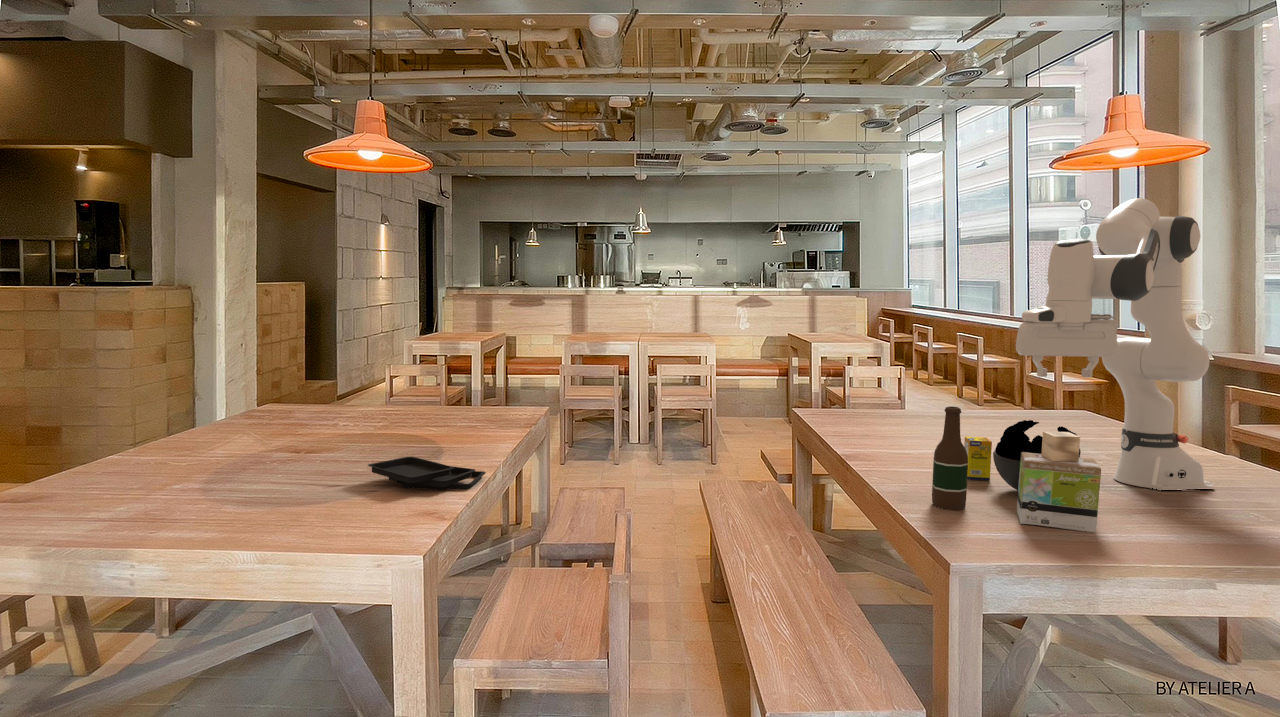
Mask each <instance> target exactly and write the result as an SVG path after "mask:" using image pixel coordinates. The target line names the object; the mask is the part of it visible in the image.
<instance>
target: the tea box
mask: <svg viewBox="0 0 1280 717" xmlns="http://www.w3.org/2000/svg"><path fill="white" fill-rule="evenodd" d="M1101 474H1102V468H1101V466H1100V465H1099V464H1098V463H1097V461H1096V460H1095V459H1094V458H1091V457H1090V458H1089V457H1081V456H1080V457H1079V462H1069V461H1051V460H1049V459H1047V458H1045V457H1044V456H1042V454H1036V453H1026V452H1021V461H1020V473H1019V486H1018V490H1017V502H1016V514H1017V516H1018V519H1019V523H1020V525H1031V526H1040V527H1041V526H1042V527H1048V528H1049V527H1050V528H1056V529H1064V530H1071V531H1079V532H1084V533H1091V532H1094V533H1096V531H1097V524H1098V514H1099V513H1098V512H1099V503H1100V502H1099V498H1100V487H1101V480H1102V479H1101V476H1102V475H1101ZM1085 531H1086V532H1085Z"/></svg>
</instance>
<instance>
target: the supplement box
mask: <svg viewBox="0 0 1280 717" xmlns="http://www.w3.org/2000/svg"><path fill="white" fill-rule="evenodd" d="M963 445H964V447H965V449H966V452H967V455H968V473H967V480H970V479H973V480H974V481H986V480H989V481H991V469H992V468H991V466H992V465H991V463H992V447H993V441H992V440H990V439H989V438H988V437H983V436H982V437H981V436H964V444H963Z"/></svg>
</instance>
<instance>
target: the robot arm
mask: <svg viewBox="0 0 1280 717" xmlns="http://www.w3.org/2000/svg"><path fill="white" fill-rule="evenodd" d="M1095 238H1096V239H1095V240H1096V243H1097V246H1098V250H1099V254H1100V255H1095V254H1094V253H1095V252H1094V246H1093V241H1092V240H1090V239H1086V238H1070V239H1063V240H1059V241H1057V242H1055V243H1054V244H1053V245H1052V248H1051V251H1050V255H1049V260H1048V268H1047V279H1046V280H1047V284H1048V293H1047V295H1046V301H1045V305H1042V306H1039V307H1038V306H1037V307H1036V308H1032V309H1028V310H1025V311H1023V312H1022V313H1021V320H1022V321H1023V322H1022V323H1021V324H1020V325H1019V327H1018V329H1017V335H1016V339H1015V351H1016V352H1017V354H1018V355H1019V356H1023V357H1027V356H1028V357H1032V362H1033V364H1034V365H1035V367H1036V368H1037V369H1036V376H1037V377H1039V378H1040V377H1045V378H1047V376H1048V368H1045V367H1044V366H1043V364H1042V362H1044V357H1083V358H1084V357H1087V361H1088V364H1087V365H1086V368H1081V377H1083V378H1092V377H1093V372H1094V371H1093V370H1094V369H1095V368H1096V366H1097V365H1098V364H1099V360H1100V357H1101V361H1102V365H1103V367H1105V370H1106V371H1108V372H1109V373H1110V374H1111V375H1112V376H1113V377H1114V379H1116V381H1117V383H1118V385H1119V387H1120V389H1121V392H1122V395H1123V398H1124V399H1123V400H1124V424H1123V425H1124V426H1123V428H1121V438H1120V447H1121V450H1120V457H1119V461H1118V464H1117V468H1116V471H1115V473H1114V475H1113V479H1114V480H1115V481H1117V482H1119V483H1123V484H1127V485H1131V486H1136V487H1141V488H1147V489H1152V488H1153V490H1156V489H1157V491H1161V490H1177V489H1198V488H1213V487H1214V485H1213V483H1212V482H1209V481H1208V480H1206V479H1205V478H1204V470H1203V466H1202V464H1201V463H1200V461H1198V460H1197V459H1195V458H1194V457H1193V456H1192V455H1190V454H1189V453H1188V452H1187V451H1185V449H1183V448H1182V447H1180V444H1179V443H1181V444H1184V445H1185V444H1187V443H1188V442H1189V438H1188V436H1186V435H1183V434H1177V433H1176V432H1174V422H1175V420H1174V419H1175V409H1176V408H1175V405H1174V401H1172V400H1171V398H1170V397H1169V396H1167V395H1165V394H1163V392H1161V390H1160V389H1159V387H1158V386H1157V383H1156V381H1161V382H1162V381H1164V382H1169V383H1170V382H1172V383H1186V382H1187V383H1188V382H1194V381H1199V380H1200V379H1201V378H1203V377H1204V376H1205V374H1206V373H1207V372H1208V370H1209V367H1210V355H1209V353H1208V351H1207V349H1206V348H1205V347H1204V346H1203V345H1202V344H1201V343H1199V342H1198V341H1196V339H1194V337H1193V336H1192V335H1191V334H1190V332H1189V330H1188V329H1187V326H1186V324H1185V322H1184V318H1183V313H1182V312H1183V310H1182V290H1183V289H1182V288H1183V287H1182V285H1183V275H1182V274H1183V271H1182V263H1183V262H1184V261H1185V259H1187V258H1190V257H1191V256H1192V255H1193V254H1194V253H1196V251H1197V249H1198V246H1199V244H1200V241H1201V240H1200V239H1201V230H1200V227H1199V223H1198V222H1197V221H1196V220H1195V219H1194V218H1193V217H1189V216H1184V215H1176V216H1161V213H1160V210H1159V208H1158V207H1157V205H1156V204H1155V203H1154V202H1153V201H1151V200H1149V199H1146V198H1141V197H1139V198H1138V197H1137V198H1133V199H1132V198H1131V199H1129V200H1126V201H1124V202H1122V203H1121V204H1119V205H1118V206H1116V207H1115V208H1113V210H1111V211H1110V212H1109V213H1108V214H1107V215H1106V216H1105V217H1104V218H1103V220H1102V221H1101V222H1100V224H1099V225H1098V227H1097V230H1096V233H1095ZM1095 299H1097V300H1098V299H1099V300H1100V299H1101V300H1120V301H1130V314H1131V317H1132V318H1133V319H1134V320H1135V321H1136V322H1137V323H1140V324H1141V325H1143V326H1144V327H1145V328H1146V330H1147V332H1148V334H1149V337H1137V336H1136V337H1134V336H1127V337H1120V338H1118V337H1117V336H1118V334H1117V331H1118V326H1119V324H1118V323H1119V322H1118V320H1117V318H1115V317H1114V316H1112V314H1109V313H1108V314H1107V313H1105V314H1099V313H1093V314H1092V312H1093V310H1092V309H1093V300H1095Z"/></svg>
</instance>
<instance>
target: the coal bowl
mask: <svg viewBox="0 0 1280 717" xmlns="http://www.w3.org/2000/svg"><path fill="white" fill-rule="evenodd" d="M1038 424H1040V422H1039V421H1034V420H1031V419H1028V420H1026V419H1023V420H1021V421H1017V422H1016V423H1014V424H1013V425H1010V426H1008V427H1006V429H1004V431H1003V433H1002V436H1001V437H1000V441H999V442H997V444H996V446H995V449H994V450H993V452H992V458H993V462H994V466H995V469H996V471H997V473H998V474H999V476H1000V477H1001V478H1002V480H1003V481H1004V482H1005V483H1006V484H1007V485H1009V486H1010V487H1011V488H1013V489H1014V490H1016V491H1018V486H1019V473H1020V461H1021V452H1026V453H1036V454H1042V438H1043V436H1042V435H1039V434H1037V435H1036V436H1034V437H1033V438H1032V440H1031V438H1030V437H1029V436H1028V435H1027V434H1026V432H1027V431H1028V430H1029V429H1032V428H1033V427H1034V426H1035V425H1038ZM1056 431H1057V432H1069V433H1072V434H1074V435H1077V436H1078V434H1077V433H1076V432H1073V431H1072V430H1069V429H1068V428H1067V427H1064V426H1058V427H1057V430H1056ZM1030 440H1031V441H1030ZM1081 453H1082V452H1081V448H1080V447H1079V457H1080V458H1081Z"/></svg>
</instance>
